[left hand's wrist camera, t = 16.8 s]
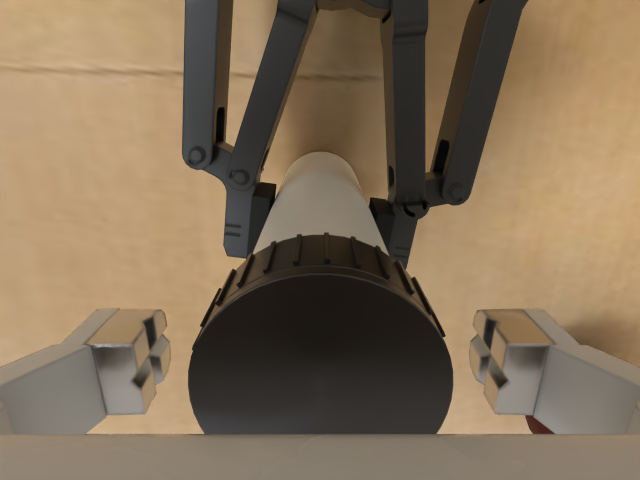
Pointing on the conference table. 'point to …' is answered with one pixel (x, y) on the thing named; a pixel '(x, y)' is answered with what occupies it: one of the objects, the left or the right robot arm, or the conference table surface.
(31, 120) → the conference table surface
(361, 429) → the lid
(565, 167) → the conference table surface
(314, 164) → the white bottle
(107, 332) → the left robot arm
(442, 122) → the right robot arm
